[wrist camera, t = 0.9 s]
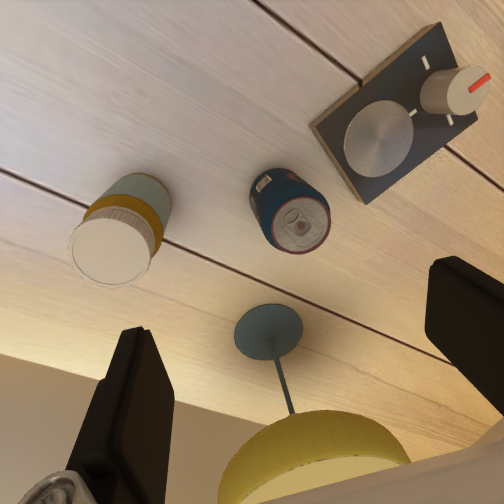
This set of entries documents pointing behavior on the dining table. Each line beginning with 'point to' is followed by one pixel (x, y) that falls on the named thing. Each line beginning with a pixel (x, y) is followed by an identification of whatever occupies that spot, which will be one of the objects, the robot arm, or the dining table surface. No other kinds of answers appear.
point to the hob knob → (454, 90)
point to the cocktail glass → (299, 429)
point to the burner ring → (378, 138)
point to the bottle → (121, 232)
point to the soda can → (290, 211)
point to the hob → (404, 93)
